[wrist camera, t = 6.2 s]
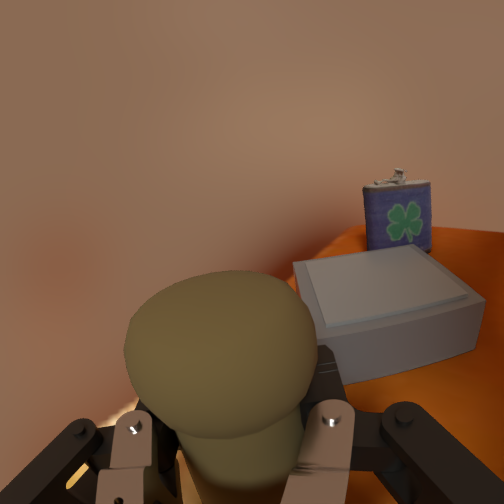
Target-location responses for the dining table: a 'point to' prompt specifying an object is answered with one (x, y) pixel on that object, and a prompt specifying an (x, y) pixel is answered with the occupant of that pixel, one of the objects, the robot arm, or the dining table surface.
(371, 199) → the flask
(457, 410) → the dining table surface
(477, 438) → the dining table surface
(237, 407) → the cork
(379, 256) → the gray rectangular box
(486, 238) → the dining table surface
